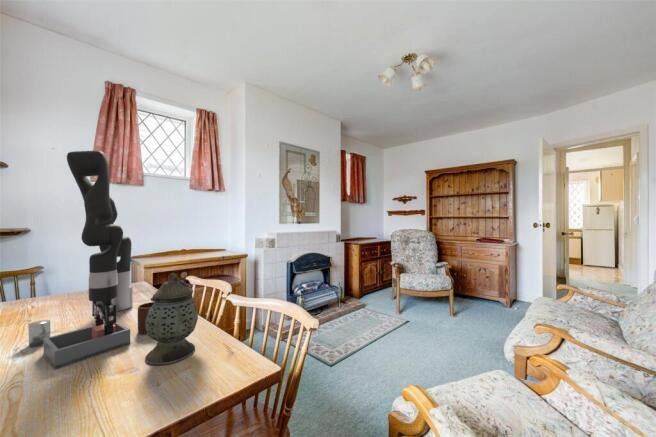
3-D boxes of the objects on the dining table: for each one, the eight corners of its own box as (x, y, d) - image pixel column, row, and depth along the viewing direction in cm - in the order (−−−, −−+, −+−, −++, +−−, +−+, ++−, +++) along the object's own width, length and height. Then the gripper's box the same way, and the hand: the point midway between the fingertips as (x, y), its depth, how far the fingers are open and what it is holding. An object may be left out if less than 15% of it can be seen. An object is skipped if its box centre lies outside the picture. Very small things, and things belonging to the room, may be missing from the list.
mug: (172, 330, 100) (172, 305, 100) (150, 338, 94) (150, 311, 94) (155, 324, 107) (155, 300, 106) (133, 331, 100) (133, 306, 100)
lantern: (151, 347, 88) (151, 270, 88) (199, 339, 93) (199, 267, 93) (138, 370, 75) (137, 280, 75) (195, 360, 80) (194, 276, 80)
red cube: (110, 336, 93) (110, 322, 93) (116, 340, 90) (115, 325, 90) (91, 342, 89) (91, 327, 89) (97, 346, 86) (96, 330, 86)
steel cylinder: (48, 338, 94) (48, 318, 94) (52, 342, 91) (51, 321, 91) (27, 344, 90) (27, 323, 90) (30, 348, 87) (30, 327, 87)
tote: (114, 333, 98) (114, 320, 98) (130, 344, 90) (130, 329, 90) (43, 354, 83) (43, 338, 83) (54, 369, 75) (54, 351, 75)
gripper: (125, 285, 89) (125, 334, 89) (109, 279, 97) (110, 324, 97) (96, 290, 83) (97, 342, 83) (82, 283, 91) (82, 331, 91)
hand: (104, 332), depth 90 cm, fingers open, 8 cm apart
